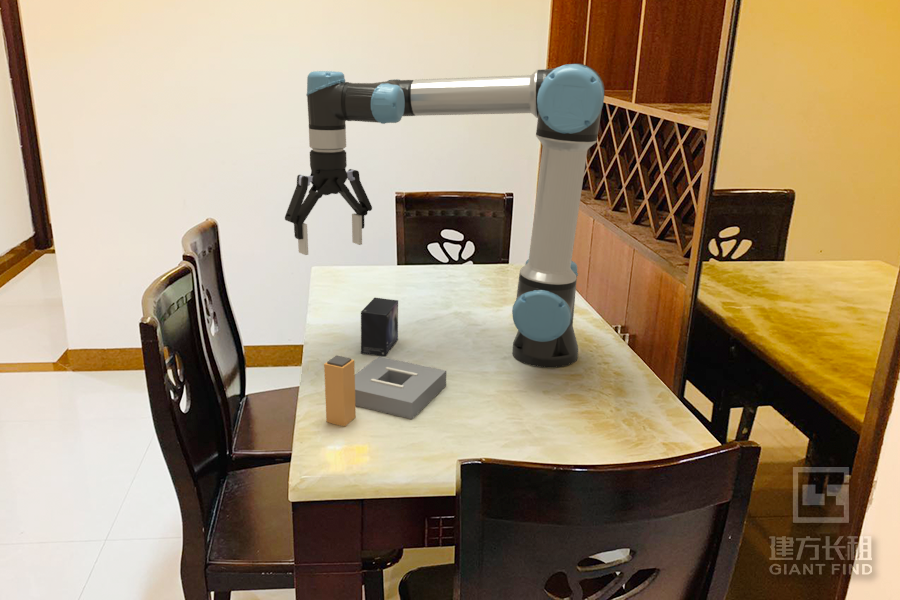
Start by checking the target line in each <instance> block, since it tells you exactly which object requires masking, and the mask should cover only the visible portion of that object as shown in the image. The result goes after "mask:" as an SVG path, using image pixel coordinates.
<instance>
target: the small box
mask: <svg viewBox="0 0 900 600" xmlns="http://www.w3.org/2000/svg"><path fill="white" fill-rule="evenodd" d="M398 340H399V300H397V299H389V298H383V297H381V298H380V297H374V298H372V300H371V301H370V302H368V304H367V305H366V306H365V307H364V308H363V309H362V310H361V311H360V354H362V355H371V356H377V357H379V356H380V357H386V356H387V355H388V354H389V352H390V351H391V349H392V348H394V346H395V345H396V344H397V342H398Z"/></svg>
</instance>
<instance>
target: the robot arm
mask: <svg viewBox="0 0 900 600" xmlns="http://www.w3.org/2000/svg"><path fill="white" fill-rule="evenodd" d="M306 78H307V79H306V84H307V86H306V87H307V88H306V98H307V99H306V100H307V116H308V117H307V118H308V141H309V147H310V149H311V150H310V151H309V166H310V170H311V173H310V175H304V174H303V175H302V174H298V175H297V176H296V187H295V189H294V191H293V194H292V197H291V199H290V202H289V205H288V207H287V211H286V214H285V216H284V220H285V221H287V222H289V223H292V224H293V230H294V231H293V233H294V238H295V239H296V240H297V241H298V243H297V245H298V253H299V254H302V255H304V256H307V255H309V239H308V224H307V223H305V221H306V219H307V218H308V216H309V215H310V214H311V212H312V210H313V209H314V207H315V206H316V204H317V202H318V201H319V200H320V199H321V198H322V197H323V196H330V195H332V194H333V195H338V194H339V195H340V196H341V197H342V198H343V199H344V200H345V202H346V203H347V204H348V205H349V206H350V208H351V209H352V210H353V211H354V212H355V213H351V230H352V233H351V234H352V235H351V236H352V243H353V244H356V245H359V246H361V245H363V229H364V228H365V216H367V215H368V212H370V211H372V210H373V205H372V204H371V202H370V199H369V197H368V194H367V193H366V191H365V189H364V187H363V186H364V185H362V182H361V179H360V171H359V170H357V169H352V168H350V169H348V170H346V168H347V166H348V165H347V151H346V150H345V148H346V147H347V134H346V133H347V131H346V126H347V125H346V122H364V123H379V124H382V125H385V124H390V123H391V124H396V123H400V121H401V120H402V118H403V117H417V116H421V117H422V116H423V117H425V116H457V115H458V116H460V115H461V116H462V115H467V116H468V115H508V114H531V115H533V116H534V117H535V118H537V121H536V122H537V123H536V131H535V137H536V138H537V140H538V141H539V142H540V143H541V145H542V147H541V148H542V149H541V155H540V163H539V173H538V181H537V187H536V188H537V189H536V198H535V204H534V205H535V206H534V214H533V222H532V230H531V237H530V244H529V254H528V255H529V256H528V259H527V260H526V261H525V263H524V264H525V265H523V266H522V267H521V268H520V269H519V273H518V274H519V276H518V282H517V291H516V297H515V298H516V299H515V301H514V302H513V303H514V304H513V305H512V310H511V311H512V312H511V313H512V320H513V324H514V326H515V328H516V329H517V332H516V335H515V337H514V339H513V342H512V349H511V350H512V351H511V353H512V355H513V357H514V358H515V359H516V360H518V361H520V362H521V363H524V364H527V365H529V366H533V367H539V368H547V369H549V368H551V369H552V368H554V369H555V368H564V367H567V366H570V365H572V364H574V363H575V362H577V361H578V357H579V345H578V341H577V338H576V334H575V328H574V317H575V316H574V314H575V303H576V292H577V291H576V290H577V280H578V279H577V278H578V276H579V273H578V264H577V263H576V262H575V261H573V260H572V258H573V251H574V245H575V239H576V232H577V231H576V230H577V224H578V217H579V211H580V203H581V198H582V197H581V196H582V189H583V182H584V177H585V170H586V162H587V157H588V150H589V149H590V148H591V147H592V146H593V145H596V143H597V142H598V135H599V130H600V122H601V115H602V109H603V106H604V101H605V91H606V90H605V85H604V81H603V80H602V77H601V76H600V74H599V73H598V72H597V71H596V70H595V69H594V68H592V67H590V66H588V65H586V64H583V63H570V64H569V63H568V64H567V63H566V64H563V65H561V66H557V67H555V68H554V67H553V68H548V69H547V68H545V69H536V70H535V71H534V72H533V73H532V74H530V75H529V74H525V75H523V74H522V75H502V76H477V77H475V76H474V77H471V76H470V77H450V78H446V77H445V78H426V79H425V78H424V79H423V78H422V79H421V78H420V79H402V80H401V79H398V78H397V79H388V80H387V81H381V82H380V81H379V82H372V83H370V82H362V83H360V82H349V81H346V79H345V74H344V73H343V72H342V71H332V70H331V71H330V70H329V71H328V70H317V71H315V70H313V71H311V72H309V74H308V75H307V77H306ZM347 180H348V181H349V184H350V186H351V188H352V191H353V192H354V194H355V196H356V197H355V196H354V195H353V193H352V192H351V190H350V188H348V186H347V185H346V184H345V183H346V182H347ZM311 184H312V186H311ZM309 186H311V187H310V189H309V190H308V188H309ZM307 192H308V195H306V194H307ZM305 197H306V198H305ZM356 198H357V199H356Z"/></svg>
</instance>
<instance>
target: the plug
mask: <svg viewBox="0 0 900 600" xmlns="http://www.w3.org/2000/svg"><path fill="white" fill-rule="evenodd" d="M323 365H324V366H323V367H324V369H323V370H324V371H323V372H324V392H325V393H324V395H325V396H324V397H325V398H324V399H325V413H326V415H325V416H326V417H325V419H326V420H325V421H326V423H329V424H332V425H335V426H341V427H346V426H347V425H348V424H350V423H351V422H352V421H353V420H354V419H356V417H357V416H356V413H357V412H356V411H357V410H356V408H357V406H355V374H356V372H355V371H356V370H355V359H352V358H351V357H346V356H342V355H337V354H336V355H335V356H333V357H332V358H330V359H329V360H327V361H326V362H325V363H323Z"/></svg>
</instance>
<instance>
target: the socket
mask: <svg viewBox="0 0 900 600" xmlns="http://www.w3.org/2000/svg"><path fill="white" fill-rule="evenodd" d="M446 386H447V370H445V369H440V368H437V367H431V366H427V365H421V364H417V363H412V362H409V361H404V360H398V359H393V358H389V357H385V356H377V357H376V358H375V359H374V360H372V361H371V362H370V363H368V364H367V365H366V366H364V367H363V368H361V369H360V370H359V371H357V372H355V407H360V408H363V409H368V410H372V411H376V412H380V413H385V414H389V415H393V416H397V417H401V418H405V419H409V420H413V419H414V418H415V417H416V415H418V414H419V413H420V412H421V411H422V410H423V409H424V408H425V407H426V406H427V405H428V404H429V403H430V402H431V401H433V399H434V398H435V397H436V396H437V395H438V394H439V393H440V392H441V391H442V390H443V389H444V388H446Z"/></svg>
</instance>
